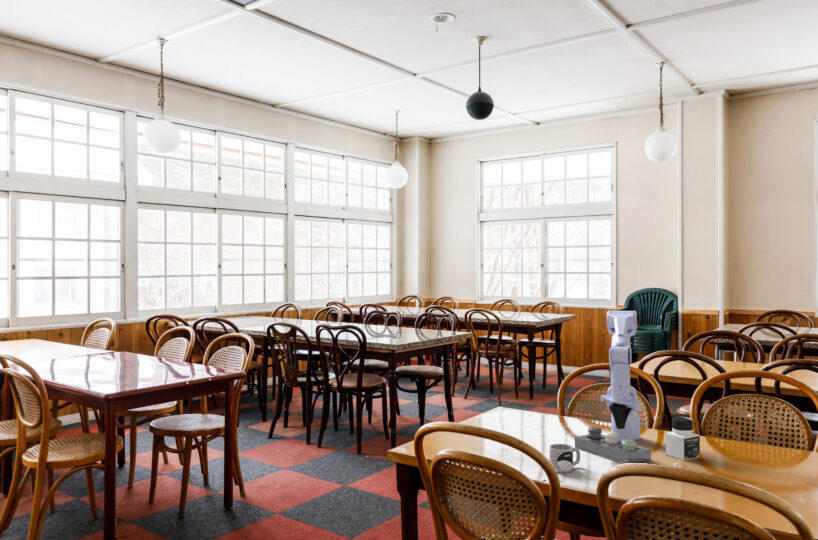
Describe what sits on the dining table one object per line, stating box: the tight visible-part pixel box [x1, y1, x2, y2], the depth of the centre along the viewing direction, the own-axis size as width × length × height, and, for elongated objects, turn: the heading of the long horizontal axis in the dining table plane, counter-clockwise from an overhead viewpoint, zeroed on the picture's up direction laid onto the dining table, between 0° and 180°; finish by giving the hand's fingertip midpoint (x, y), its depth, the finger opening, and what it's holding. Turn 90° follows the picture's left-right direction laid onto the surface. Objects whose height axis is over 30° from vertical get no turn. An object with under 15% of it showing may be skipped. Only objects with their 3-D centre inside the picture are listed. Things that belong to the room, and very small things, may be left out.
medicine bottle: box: [665, 416, 701, 462], centre depth 197 cm, size 7×7×12 cm
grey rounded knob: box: [587, 426, 603, 440], centre depth 206 cm, size 4×4×4 cm
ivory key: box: [604, 431, 619, 445], centre depth 200 cm, size 4×4×4 cm
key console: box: [574, 433, 652, 464], centre depth 200 cm, size 10×22×4 cm, turn 29°
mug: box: [549, 443, 581, 474], centre depth 185 cm, size 10×7×7 cm
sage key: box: [622, 440, 637, 451], centre depth 194 cm, size 4×4×4 cm
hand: (620, 428), depth 197 cm, fingers closed
